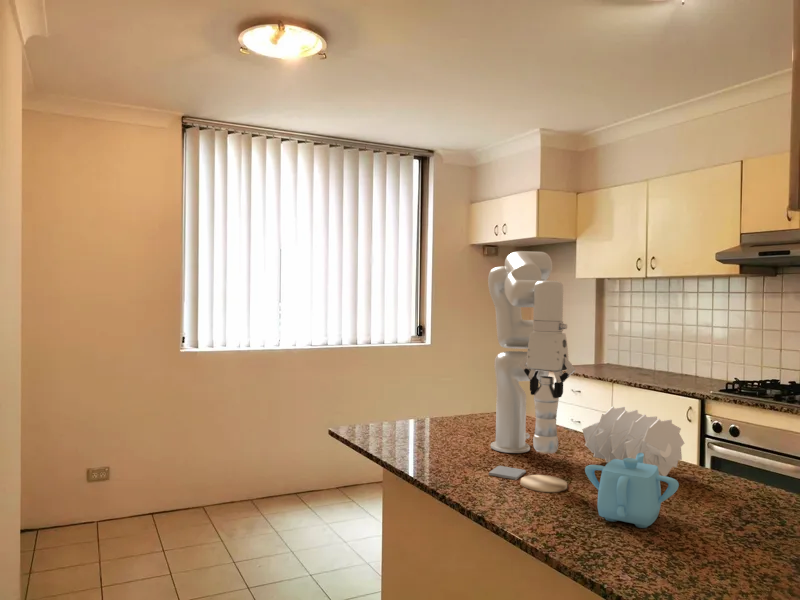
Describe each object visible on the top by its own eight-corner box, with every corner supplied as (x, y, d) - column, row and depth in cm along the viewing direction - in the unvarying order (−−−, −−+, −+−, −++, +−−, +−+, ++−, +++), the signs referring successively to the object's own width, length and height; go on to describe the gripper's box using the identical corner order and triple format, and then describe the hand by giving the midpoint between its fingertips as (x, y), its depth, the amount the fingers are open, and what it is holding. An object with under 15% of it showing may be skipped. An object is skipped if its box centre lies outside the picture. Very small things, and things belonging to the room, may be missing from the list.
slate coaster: (498, 467, 175) (498, 465, 174) (525, 472, 171) (525, 470, 171) (488, 474, 168) (488, 472, 168) (516, 479, 164) (516, 477, 164)
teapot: (684, 532, 130) (686, 469, 130) (612, 533, 128) (614, 470, 128) (640, 502, 148) (642, 447, 148) (576, 503, 146) (578, 448, 146)
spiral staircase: (614, 471, 187) (678, 493, 164) (572, 450, 182) (632, 469, 159) (634, 416, 191) (699, 430, 168) (593, 394, 185) (654, 405, 162)
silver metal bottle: (544, 457, 155) (546, 379, 155) (527, 451, 161) (528, 376, 161) (563, 454, 158) (565, 378, 158) (546, 448, 164) (547, 374, 164)
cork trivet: (533, 475, 168) (533, 472, 168) (574, 484, 161) (574, 481, 161) (512, 485, 159) (512, 482, 159) (555, 495, 151) (555, 492, 151)
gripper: (585, 328, 157) (583, 398, 157) (524, 325, 168) (523, 390, 168) (573, 329, 151) (571, 401, 151) (511, 326, 162) (509, 393, 162)
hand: (546, 395), depth 159 cm, fingers closed on silver metal bottle, 6 cm apart
